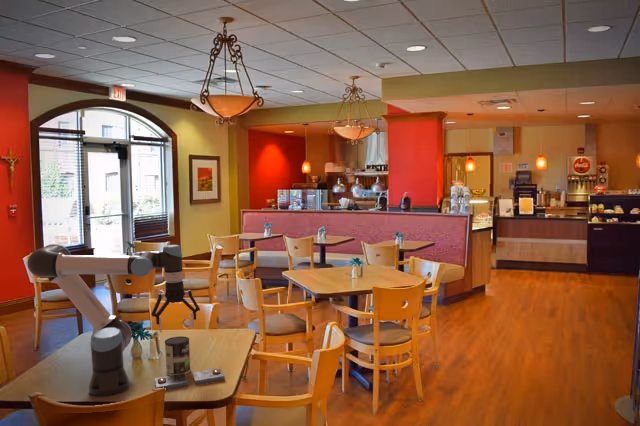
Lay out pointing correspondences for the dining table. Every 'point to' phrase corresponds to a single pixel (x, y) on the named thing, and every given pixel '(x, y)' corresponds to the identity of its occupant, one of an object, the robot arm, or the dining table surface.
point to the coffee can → (177, 355)
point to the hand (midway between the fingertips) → (176, 329)
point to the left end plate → (171, 382)
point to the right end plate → (208, 376)
